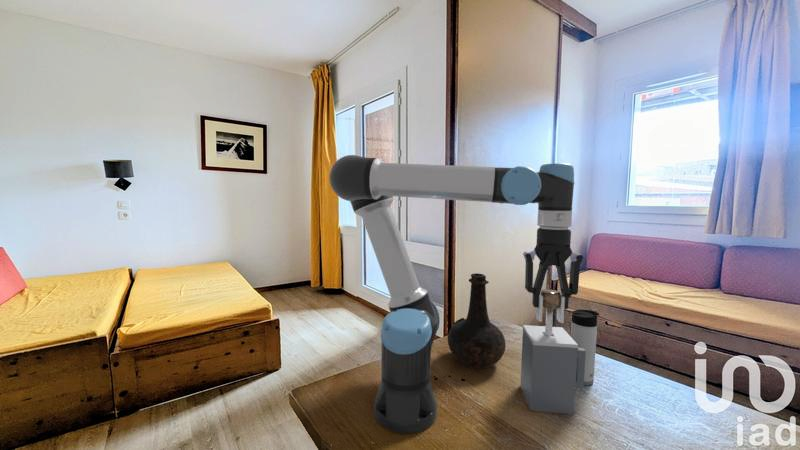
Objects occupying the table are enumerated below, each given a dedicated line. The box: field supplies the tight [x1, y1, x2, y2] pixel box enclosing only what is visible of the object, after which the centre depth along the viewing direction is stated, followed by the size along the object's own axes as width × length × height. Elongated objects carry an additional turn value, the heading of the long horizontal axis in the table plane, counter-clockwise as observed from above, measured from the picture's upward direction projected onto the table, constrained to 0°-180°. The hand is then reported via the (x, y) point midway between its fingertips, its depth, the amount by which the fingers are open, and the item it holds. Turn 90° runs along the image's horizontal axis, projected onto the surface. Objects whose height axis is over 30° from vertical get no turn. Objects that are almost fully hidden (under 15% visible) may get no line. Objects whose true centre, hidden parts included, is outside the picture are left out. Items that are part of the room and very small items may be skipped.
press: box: [520, 324, 586, 415], centre depth 80 cm, size 14×10×17 cm
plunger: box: [540, 289, 562, 336], centre depth 80 cm, size 4×4×24 cm
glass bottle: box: [447, 272, 507, 369], centre depth 99 cm, size 18×18×28 cm
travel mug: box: [570, 309, 600, 386], centre depth 90 cm, size 6×7×20 cm
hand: (549, 320), depth 80 cm, fingers closed on plunger, 4 cm apart
